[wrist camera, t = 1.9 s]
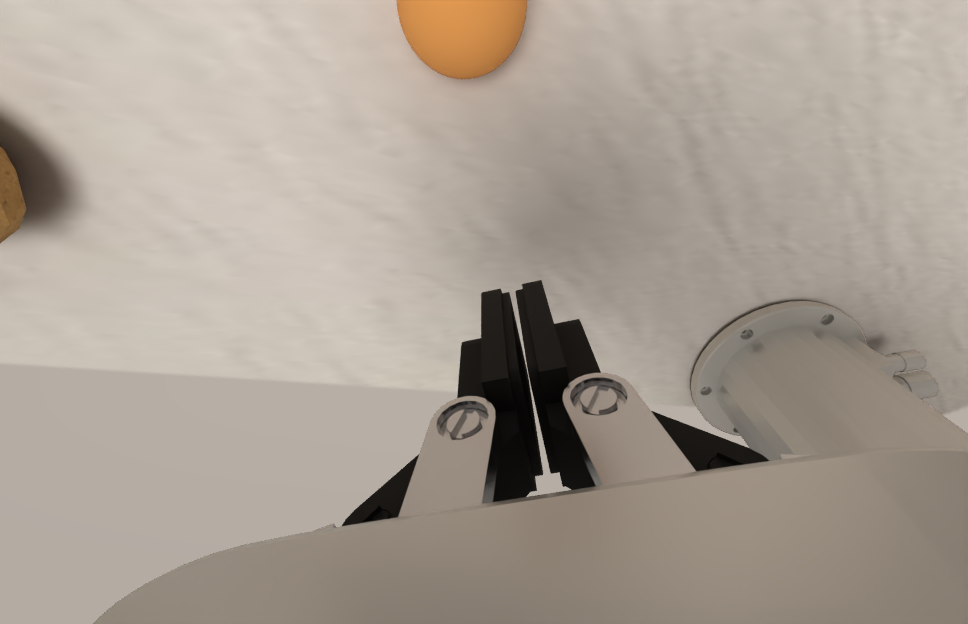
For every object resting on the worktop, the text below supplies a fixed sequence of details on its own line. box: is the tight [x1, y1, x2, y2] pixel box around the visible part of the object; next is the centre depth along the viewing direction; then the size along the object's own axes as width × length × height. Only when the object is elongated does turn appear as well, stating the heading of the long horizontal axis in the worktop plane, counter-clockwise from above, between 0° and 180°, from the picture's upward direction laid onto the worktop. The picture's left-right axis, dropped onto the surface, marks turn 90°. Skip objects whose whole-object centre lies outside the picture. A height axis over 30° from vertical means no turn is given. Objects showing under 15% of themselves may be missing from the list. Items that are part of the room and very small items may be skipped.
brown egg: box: [397, 0, 527, 79], centre depth 20 cm, size 6×6×6 cm
